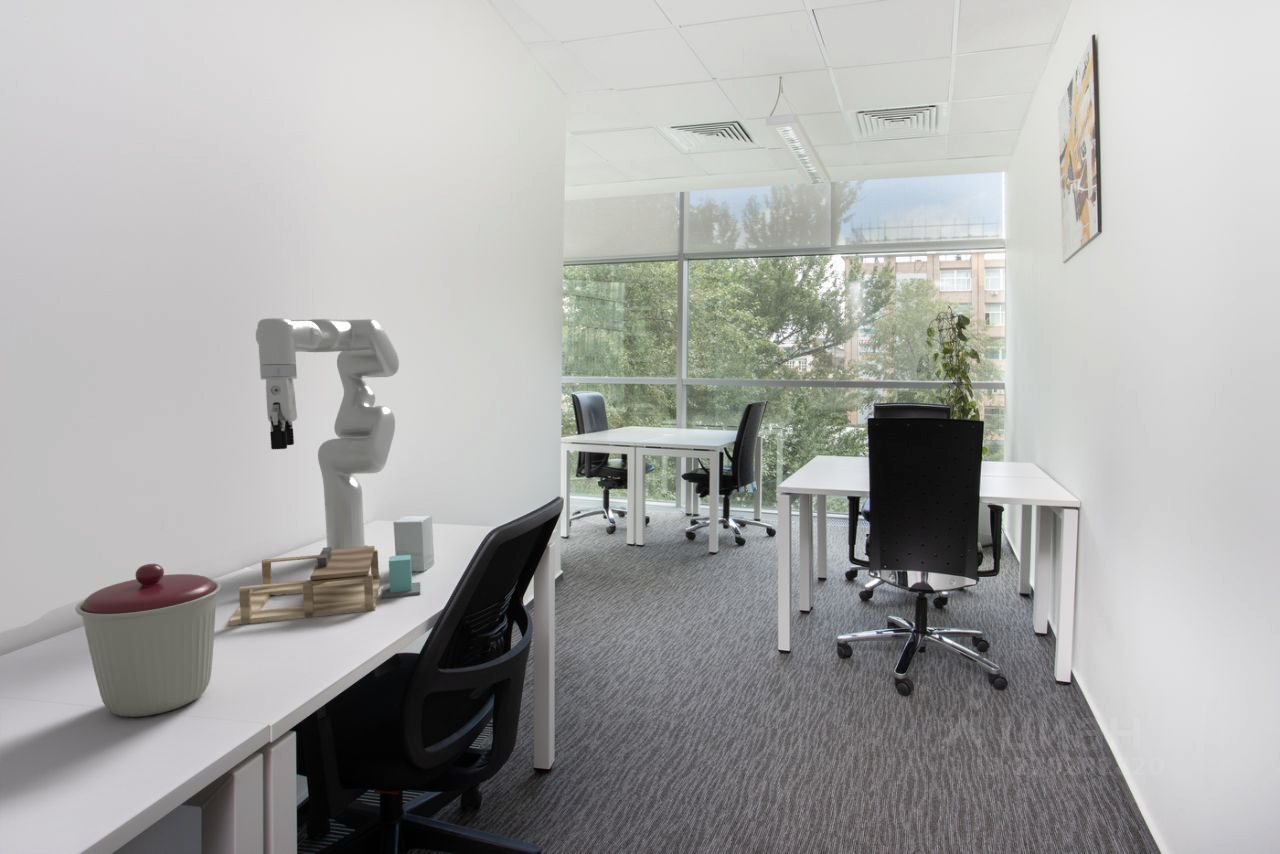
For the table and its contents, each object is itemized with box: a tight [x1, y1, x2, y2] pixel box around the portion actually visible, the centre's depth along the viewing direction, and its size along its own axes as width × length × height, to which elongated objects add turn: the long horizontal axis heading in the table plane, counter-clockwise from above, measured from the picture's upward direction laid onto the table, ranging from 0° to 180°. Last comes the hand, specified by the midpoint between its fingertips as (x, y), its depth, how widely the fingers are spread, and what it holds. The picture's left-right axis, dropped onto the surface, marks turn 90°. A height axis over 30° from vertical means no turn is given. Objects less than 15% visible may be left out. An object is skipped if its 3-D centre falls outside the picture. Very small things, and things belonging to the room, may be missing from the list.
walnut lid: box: [310, 545, 376, 580], centre depth 163 cm, size 24×11×3 cm, turn 17°
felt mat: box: [381, 581, 421, 599], centre depth 167 cm, size 8×8×1 cm
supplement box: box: [393, 515, 435, 573], centre depth 186 cm, size 7×7×13 cm
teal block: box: [388, 555, 413, 593], centre depth 167 cm, size 4×4×7 cm
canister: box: [75, 563, 222, 718], centre depth 112 cm, size 18×18×21 cm
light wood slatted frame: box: [228, 549, 381, 626], centre depth 161 cm, size 24×27×7 cm
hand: (283, 447), depth 173 cm, fingers open, 9 cm apart
